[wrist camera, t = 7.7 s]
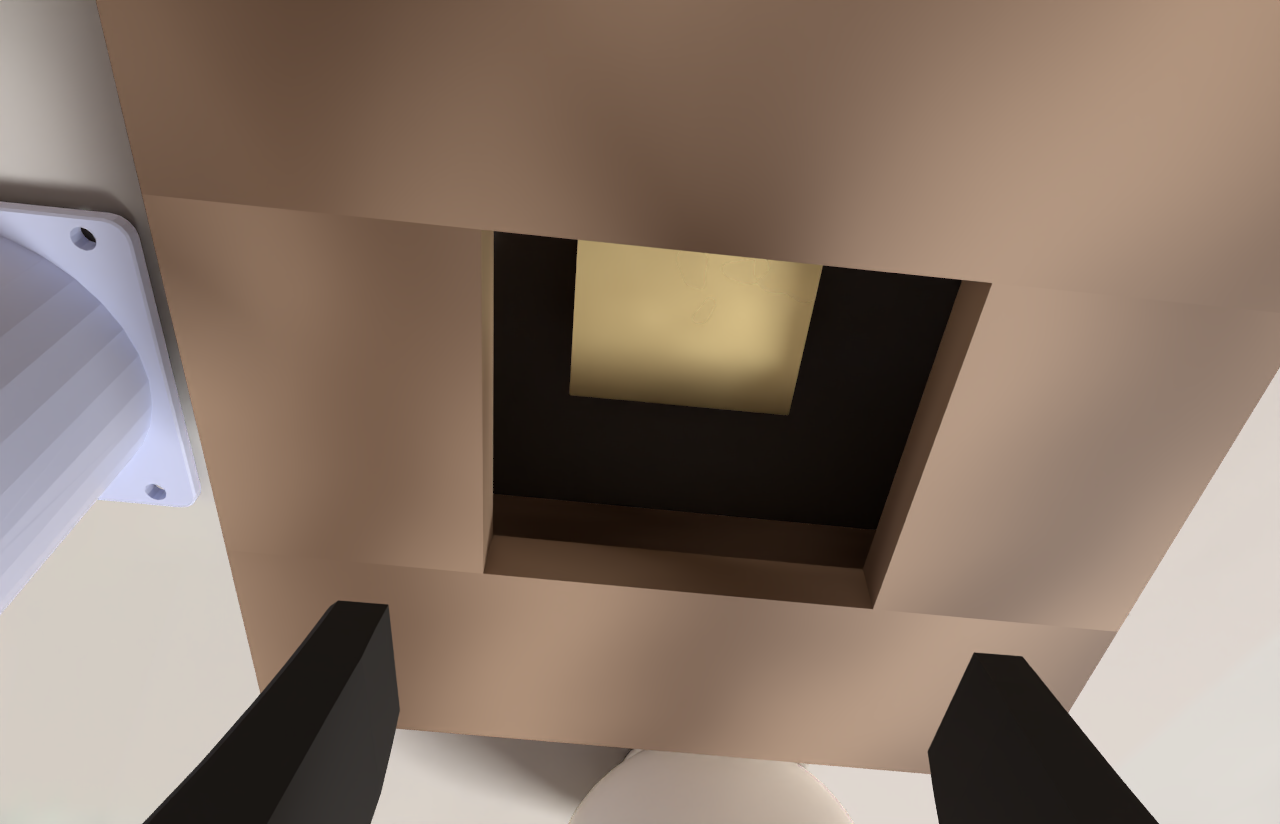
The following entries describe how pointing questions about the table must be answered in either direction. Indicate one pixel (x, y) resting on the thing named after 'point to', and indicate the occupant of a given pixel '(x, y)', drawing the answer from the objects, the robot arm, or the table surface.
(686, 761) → the lidded jar
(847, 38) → the coin box
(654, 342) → the brass cube
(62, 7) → the table surface
